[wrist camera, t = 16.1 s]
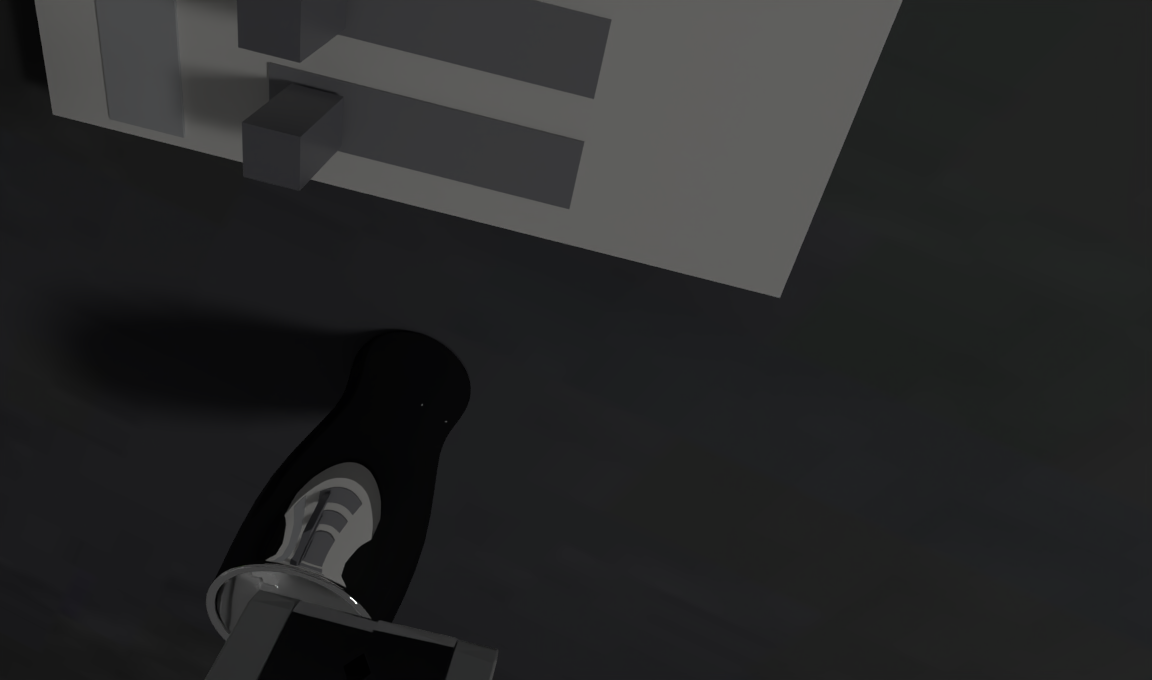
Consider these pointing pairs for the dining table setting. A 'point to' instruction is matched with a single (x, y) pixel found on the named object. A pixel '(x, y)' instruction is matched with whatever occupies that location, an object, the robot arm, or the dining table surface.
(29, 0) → the dining table surface
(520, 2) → the breaker panel
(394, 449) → the beer glass
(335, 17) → the breaker handle
